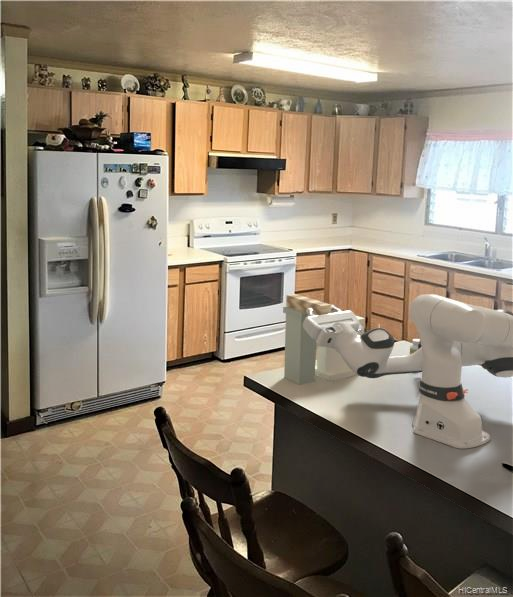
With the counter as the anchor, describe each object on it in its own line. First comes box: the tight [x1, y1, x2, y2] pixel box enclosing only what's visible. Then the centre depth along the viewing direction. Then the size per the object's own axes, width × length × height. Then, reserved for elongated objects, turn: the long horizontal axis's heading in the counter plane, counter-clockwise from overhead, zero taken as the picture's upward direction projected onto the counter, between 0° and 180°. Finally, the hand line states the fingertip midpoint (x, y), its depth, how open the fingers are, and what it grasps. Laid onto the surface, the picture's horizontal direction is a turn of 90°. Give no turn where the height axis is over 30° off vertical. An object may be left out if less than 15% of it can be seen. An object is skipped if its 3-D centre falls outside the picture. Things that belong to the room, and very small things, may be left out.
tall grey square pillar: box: [282, 306, 317, 385], centre depth 227 cm, size 11×8×26 cm
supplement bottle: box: [409, 338, 420, 355], centre depth 249 cm, size 5×5×10 cm
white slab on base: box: [315, 315, 366, 382], centre depth 237 cm, size 12×20×20 cm, turn 123°
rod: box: [285, 293, 332, 315], centre depth 221 cm, size 20×4×4 cm, turn 33°
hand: (319, 307), depth 216 cm, fingers open, 8 cm apart
